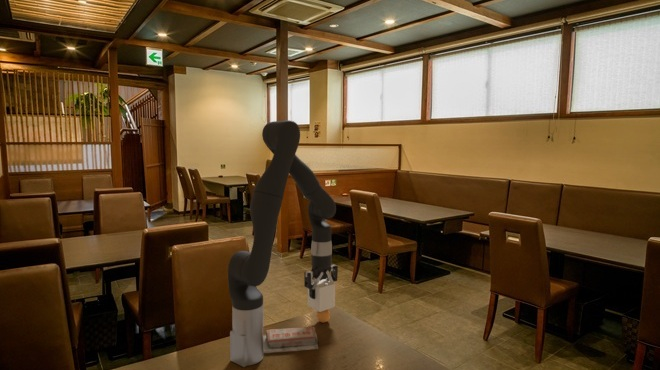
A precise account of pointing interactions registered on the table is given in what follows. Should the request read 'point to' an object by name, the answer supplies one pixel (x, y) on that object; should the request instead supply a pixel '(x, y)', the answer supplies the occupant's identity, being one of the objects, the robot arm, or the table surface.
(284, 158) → the robot arm
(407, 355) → the table surface
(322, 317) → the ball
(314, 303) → the white foam cube
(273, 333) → the packaged product
